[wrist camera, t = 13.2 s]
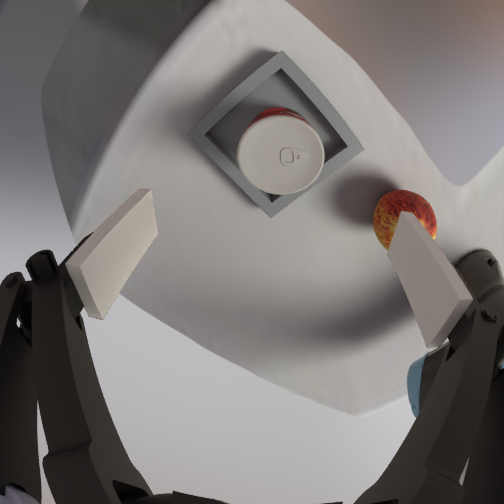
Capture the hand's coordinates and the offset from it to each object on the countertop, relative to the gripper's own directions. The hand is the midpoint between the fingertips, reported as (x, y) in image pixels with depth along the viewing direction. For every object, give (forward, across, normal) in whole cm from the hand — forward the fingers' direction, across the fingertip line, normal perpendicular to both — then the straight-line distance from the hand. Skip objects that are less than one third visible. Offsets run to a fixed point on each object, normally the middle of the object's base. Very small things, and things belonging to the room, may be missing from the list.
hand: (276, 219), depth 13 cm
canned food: (+23, 0, 0) cm, 23 cm away
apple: (+24, -18, +8) cm, 31 cm away
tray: (+24, 0, 0) cm, 24 cm away
